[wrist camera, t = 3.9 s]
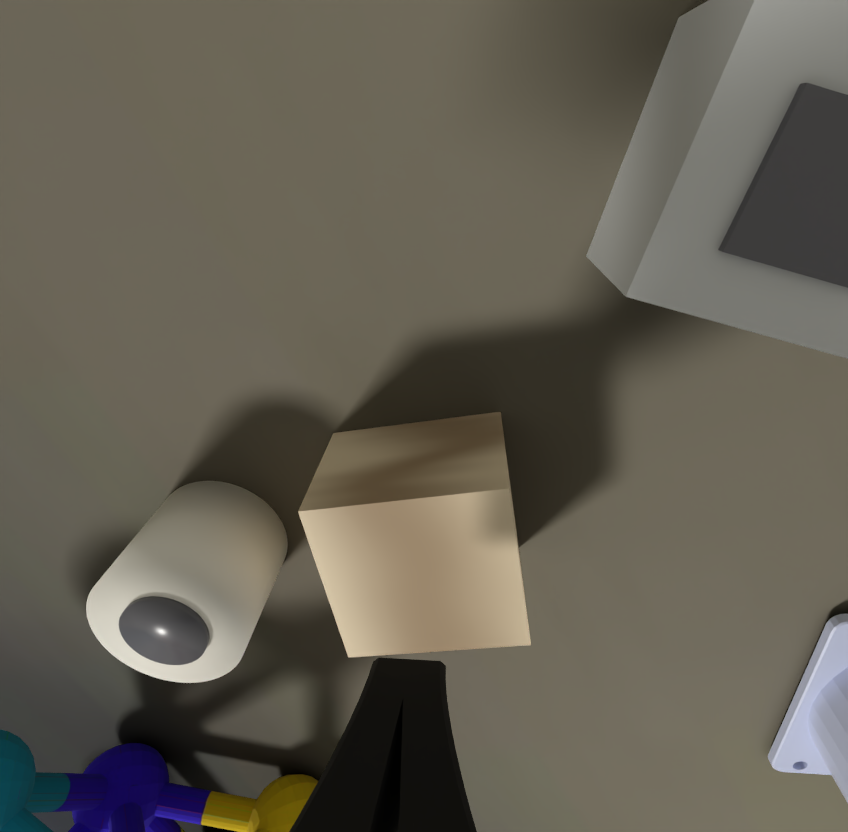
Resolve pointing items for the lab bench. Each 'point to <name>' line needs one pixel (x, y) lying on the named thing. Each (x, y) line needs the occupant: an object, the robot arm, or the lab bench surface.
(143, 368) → the lab bench surface
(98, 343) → the lab bench surface
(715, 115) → the grey labelled block
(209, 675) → the offwhite stopper
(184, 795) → the molecular model
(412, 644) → the beech block
